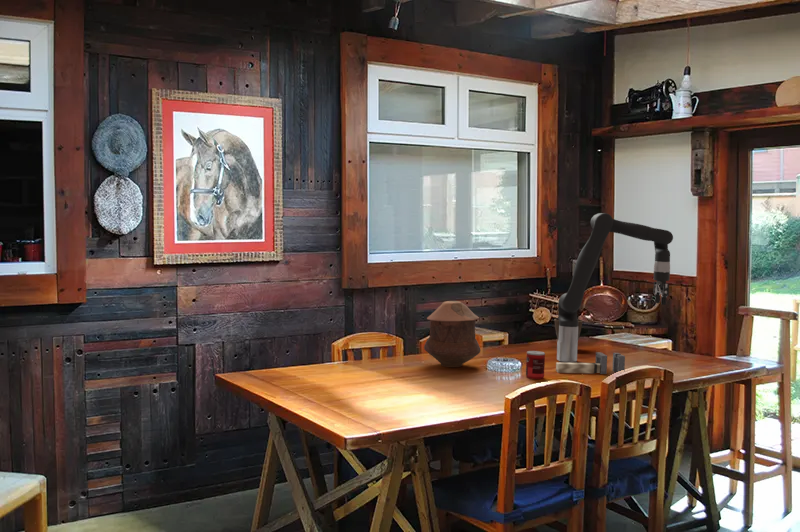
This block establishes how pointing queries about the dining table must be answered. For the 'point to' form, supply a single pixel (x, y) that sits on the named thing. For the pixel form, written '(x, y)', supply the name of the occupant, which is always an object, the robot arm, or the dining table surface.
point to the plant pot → (558, 327)
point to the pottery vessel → (452, 334)
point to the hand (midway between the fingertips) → (660, 303)
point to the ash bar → (577, 367)
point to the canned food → (535, 364)
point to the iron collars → (617, 362)
